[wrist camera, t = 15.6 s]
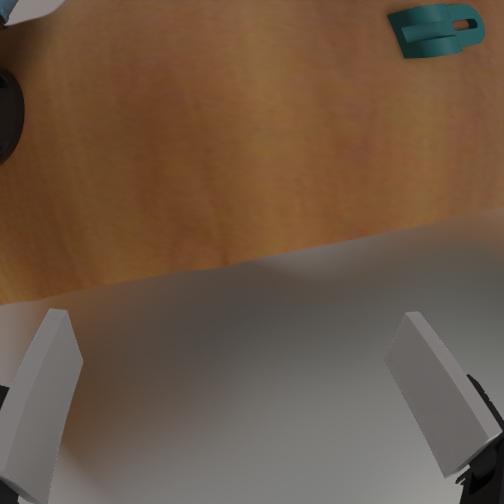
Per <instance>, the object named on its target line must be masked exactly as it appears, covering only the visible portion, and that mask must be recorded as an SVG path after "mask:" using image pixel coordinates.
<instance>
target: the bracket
mask: <svg viewBox="0 0 504 504" xmlns="http://www.w3.org/2000/svg"><path fill="white" fill-rule="evenodd" d="M387 16H388V18H389V20H390V23H391V25H392V27H393V30H394V32H395V34H396V37H397V39H398V42H399V45H400V47H401V50H402V52H403V55H404V58H405V59H406V58H427V57H436V56H443V55H450V54H455V53H459V52H462V48H461V47H463V46H468V45H474V44H479V43H481V42H482V41H483V39H484V36H485V28H484V24H483V21H482V19H481V17H480V15H479V14H478V12H477V11H476V10H475V9H474V8H473V7H471V6H469V5H467V4H460V5H448V6H446V4H434V5H427V6H421V7H416V8H411V9H407V10H403V11H399V12H396V13H393V14H389V15H387ZM463 19H465V20H467V21H468V23H469V28H468V29H463V30H456V29H455V28H454V27H453V21H455V20H463Z"/></svg>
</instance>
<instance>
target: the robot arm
mask: <svg viewBox="0 0 504 504" xmlns="http://www.w3.org/2000/svg"><path fill="white" fill-rule="evenodd" d="M17 2H18V0H0V30H1V29H2V27H3V25H4V24H6V23H7V22H8V19H9V15H10V13H11V12H12V10H13V8H14V7H15V5H16V3H17ZM23 121H24V101H23V96H22V92H21V89H20V86H19V84H18V82H17V81H16V79H15V78H14V77H13V75H12V74H11V73H9V72H8V71H6V70H4V69H2V68H0V164H2V163H3V162H4V161H5V160H6V159H7V158H8V157H9V156H10V155H11V154H12V152H13V151H14V149H15V147H16V145H17V143H18V141H19V138H20V135H21V131H22V127H23ZM384 361H385V363H386V364H387V366H388V368H389V370H390V372H391V374H392V375H393V377H394V379H395V381H396V383H397V385H398V387H399V388H400V390H401V392H402V394H403V396H404V398H405V399H406V401H407V403H408V405H409V407H410V409H411V411H412V413H413V415H414V417H415V419H416V421H417V422H418V424H419V427H420V428H421V430H422V432H423V434H424V436H425V438H426V440H427V442H428V444H429V446H430V448H431V450H432V453H433V455H434V457H435V459H436V461H437V463H438V465H439V467H440V469H441V471H442V473H443V476H444V478H447V477H449V476H451V475H454V474H456V473H458V472H459V471H461V470H462V469H463V468H464V467H465V466H466V465H468V464H469V466H470V468H469V469H468V470H467V471H465V472H464V473H463V474H462V475H461V476H460V477H458V478H457V480H456V482H455V483H456V484H458V483H459V482H460V481H462V480H463V479H464V478H465V480H464V481H463V482H462V483H461V484H460V485H463V486H464V487H463V492H462V496H461V500H460V504H504V420H503V419H502V417H501V416H500V414H499V413H498V411H497V410H496V408H495V406H494V405H493V403H492V402H491V401H489V398H488V396H487V394H485V393H484V392H485V391H484V390H483V389H482V387H481V386H480V384H479V383H478V382H477V381H476V380H475V379H474V378H473V377H471V376H470V375H469V374H468V375H466V374H465V373H464V371H463V370H462V369H461V367H460V366H459V364H458V363H457V362H456V360H455V359H454V357H453V356H452V355H451V353H450V352H449V351H448V349H447V348H446V346H445V345H444V344H443V342H442V341H441V340H440V338H439V337H438V336H437V334H436V333H435V332H434V331H433V329H432V328H431V327H430V325H429V324H428V323H427V321H426V320H425V319H424V318H423V316H422V315H421V314H420V312H407V313H405V314H404V317H403V319H402V321H401V323H400V326H399V328H398V330H397V332H396V334H395V337H394V339H393V341H392V343H391V345H390V347H389V350H388V352H387V354H386V356H385V358H384ZM82 365H83V360H82V357H81V354H80V351H79V348H78V345H77V342H76V339H75V335H74V332H73V329H72V325H71V322H70V318H69V315H68V311H67V310H61V309H51V308H50V309H49V311H48V313H47V314H46V316H45V318H44V320H43V322H42V323H41V325H40V327H39V329H38V331H37V333H36V335H35V336H34V339H33V340H32V342H31V344H30V346H29V348H28V350H27V352H26V354H25V356H24V358H23V361H22V362H21V364H20V367H19V369H18V371H17V373H16V375H15V377H14V380H13V382H12V384H11V386H10V388H8V387H5V386H1V385H0V504H19V503H18V501H17V500H18V496H19V495H20V496H21V497H22V498H23V499H25V500H26V501H28V502H31V503H35V504H48V498H49V492H50V487H51V482H52V477H53V472H54V467H55V462H56V458H57V453H58V449H59V445H60V441H61V437H62V433H63V429H64V425H65V421H66V418H67V414H68V410H69V407H70V403H71V400H72V397H73V393H74V390H75V387H76V383H77V380H78V377H79V374H80V371H81V368H82Z"/></svg>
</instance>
